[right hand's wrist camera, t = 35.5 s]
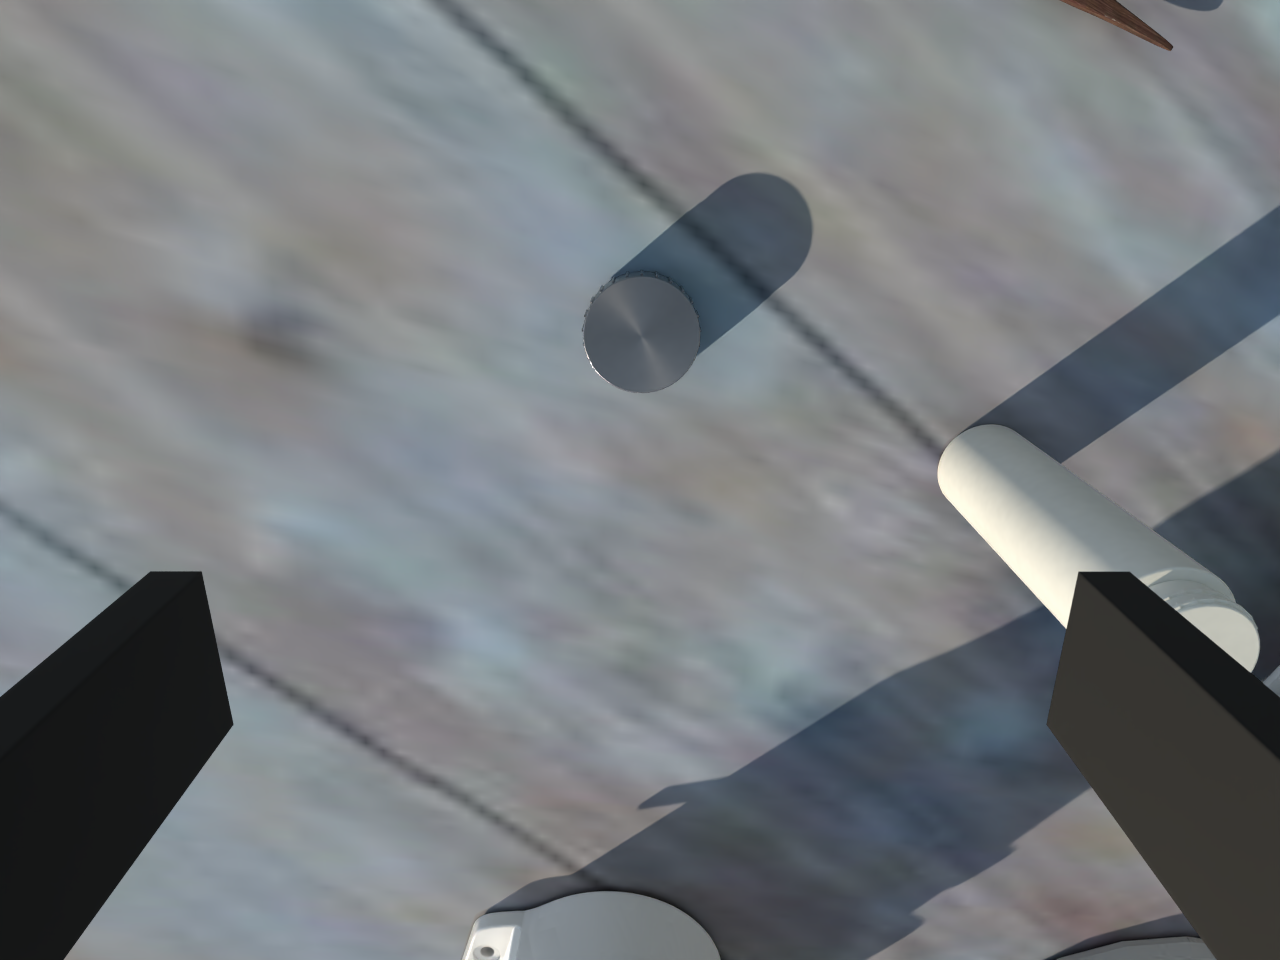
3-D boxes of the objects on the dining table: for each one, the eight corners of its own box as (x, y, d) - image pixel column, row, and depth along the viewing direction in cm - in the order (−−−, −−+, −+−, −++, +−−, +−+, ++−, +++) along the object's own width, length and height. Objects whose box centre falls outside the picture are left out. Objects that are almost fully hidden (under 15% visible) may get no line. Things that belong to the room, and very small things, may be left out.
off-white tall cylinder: (1045, 479, 42) (1296, 675, 26) (962, 526, 43) (1155, 744, 27) (1005, 405, 40) (1244, 565, 24) (921, 456, 41) (1097, 641, 25)
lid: (582, 269, 38) (580, 274, 36) (700, 269, 38) (703, 275, 36) (584, 384, 40) (582, 394, 38) (697, 384, 40) (700, 394, 38)
